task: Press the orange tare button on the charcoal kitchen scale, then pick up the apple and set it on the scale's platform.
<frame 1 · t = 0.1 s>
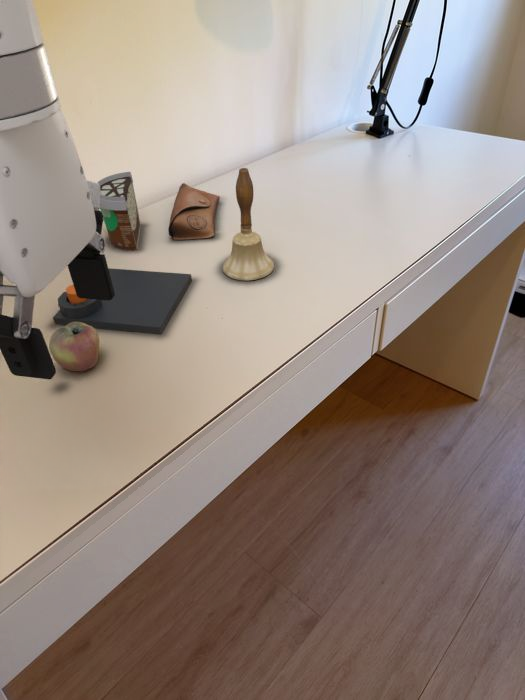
hand: (68, 332, 40), 19 cm above the table, tool pointing down, fingers open, 9 cm apart
tare button: (77, 293, 74), point 3 cm above the table, slide at 0.1 cm
hand bell: (248, 268, 85), on the table
sunglasses case: (196, 219, 100), on the table
apple: (81, 367, 67), on the table
food container: (122, 240, 95), on the table
scale: (126, 301, 79), on the table
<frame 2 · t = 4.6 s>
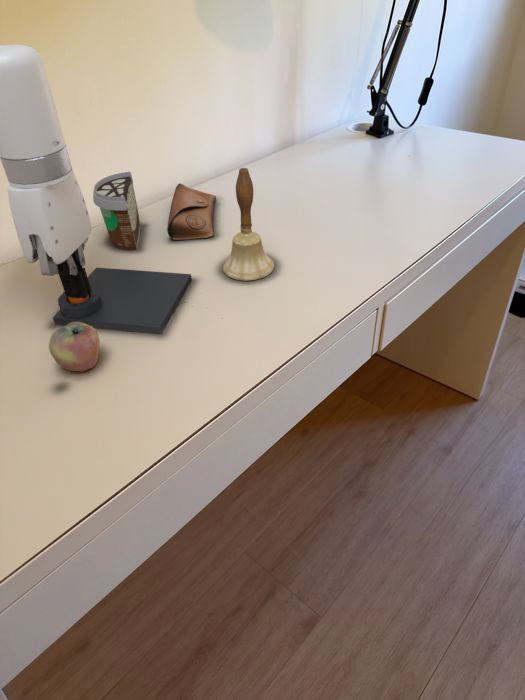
hand: (79, 294, 74), 3 cm above the table, tool pointing down, fingers closed
tare button: (79, 299, 75), point 3 cm above the table, slide at -0.8 cm, touching gripper
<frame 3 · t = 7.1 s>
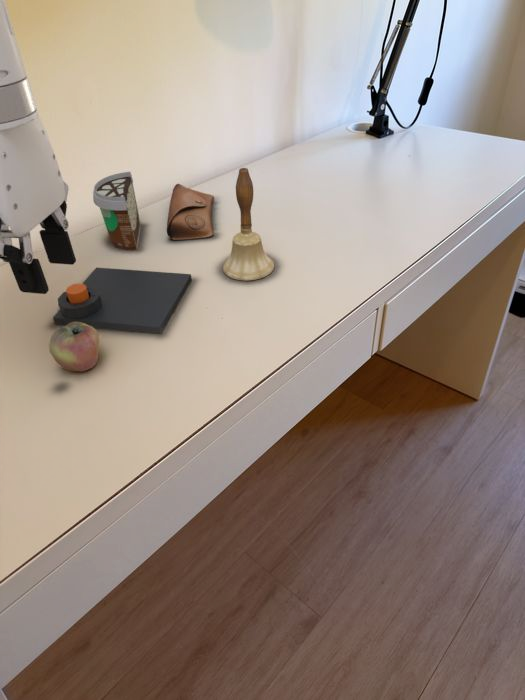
hand: (49, 275, 59), 13 cm above the table, tool pointing down, fingers open, 5 cm apart
tare button: (77, 293, 74), point 3 cm above the table, slide at 0.1 cm
everything else where it was.
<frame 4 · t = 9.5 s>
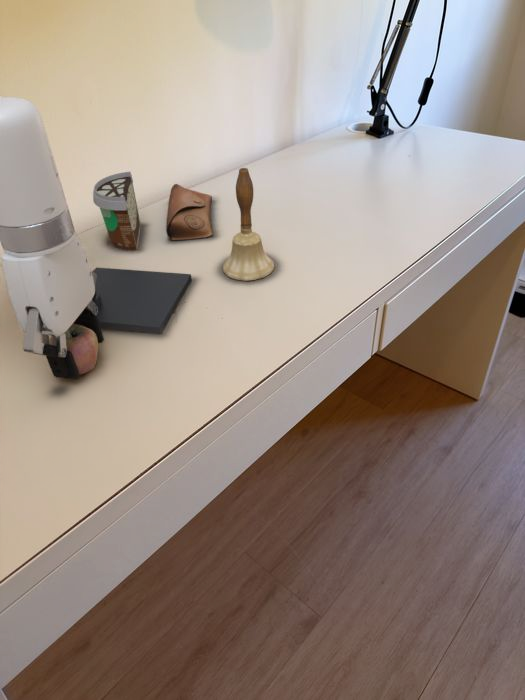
hand: (80, 357, 67), 1 cm above the table, tool pointing down, fingers closed on apple, 6 cm apart
apple: (79, 370, 67), on the table, touching gripper
everything else where it was.
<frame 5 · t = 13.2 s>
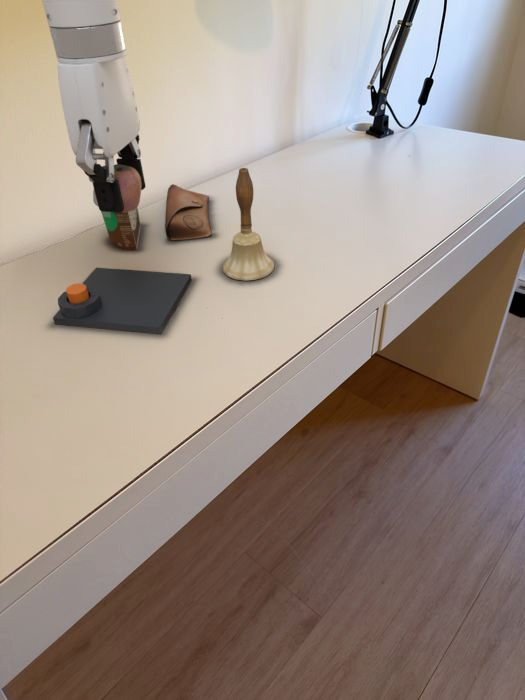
hand: (123, 198, 69), 16 cm above the table, tool pointing down, fingers closed on apple, 6 cm apart
apple: (122, 211, 69), point 14 cm above the table, touching gripper
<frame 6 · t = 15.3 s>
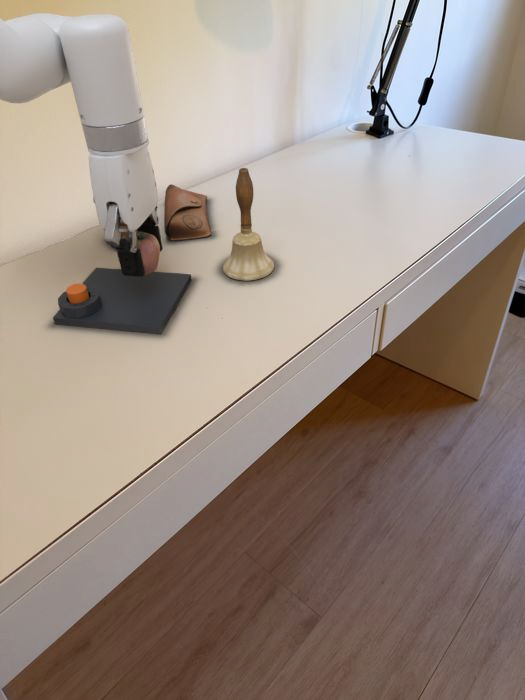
hand: (143, 261, 76), 6 cm above the table, tool pointing down, fingers closed on apple, 6 cm apart
apple: (142, 273, 76), point 4 cm above the table, touching gripper
when the fingers open (3 cm above the table, at t = 16.9 s): apple stays where it is, resting on scale.
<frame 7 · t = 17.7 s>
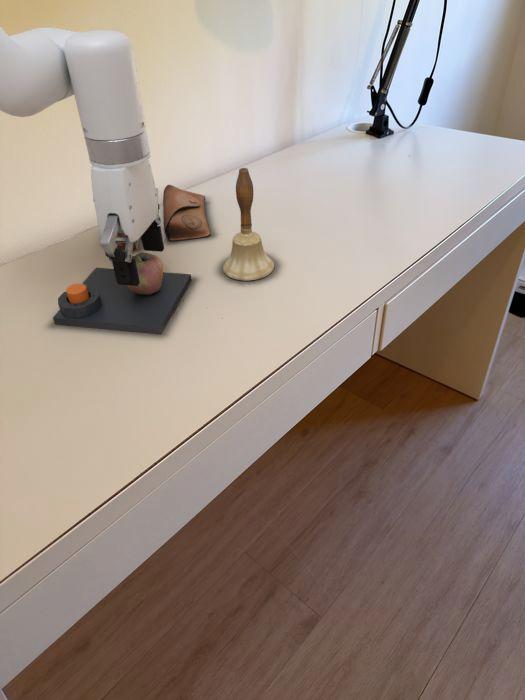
hand: (142, 266, 77), 5 cm above the table, tool pointing down, fingers open, 9 cm apart
apple: (146, 292, 78), point 1 cm above the table, touching scale
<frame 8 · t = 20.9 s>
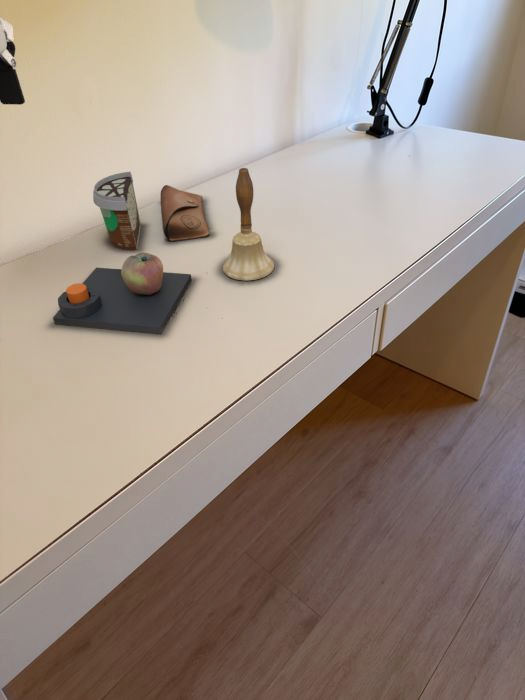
at the end: tare button pushed in 1.1 cm at the most during the clip, back to where it started at the end; tare button slide at 0.1 cm; apple inside the target area on the scale (0.5 cm from its centre), point 1.0 cm above the scale's base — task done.
